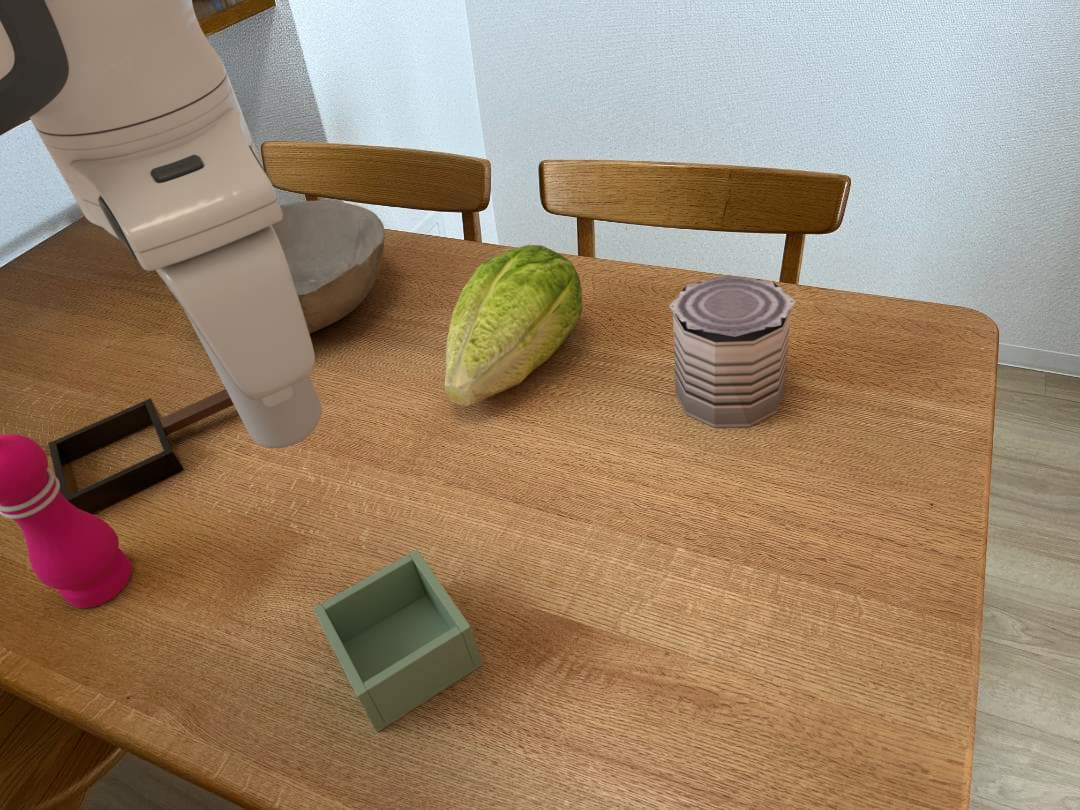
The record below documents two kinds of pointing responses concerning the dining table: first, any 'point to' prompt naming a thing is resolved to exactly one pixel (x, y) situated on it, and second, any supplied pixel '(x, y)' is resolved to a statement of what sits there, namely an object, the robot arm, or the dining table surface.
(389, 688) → the bin
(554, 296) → the lettuce
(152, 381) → the dining table surface
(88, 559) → the pepper mill
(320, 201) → the bowl
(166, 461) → the handled rectangular frame
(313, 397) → the beverage can
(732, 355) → the can
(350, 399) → the dining table surface
